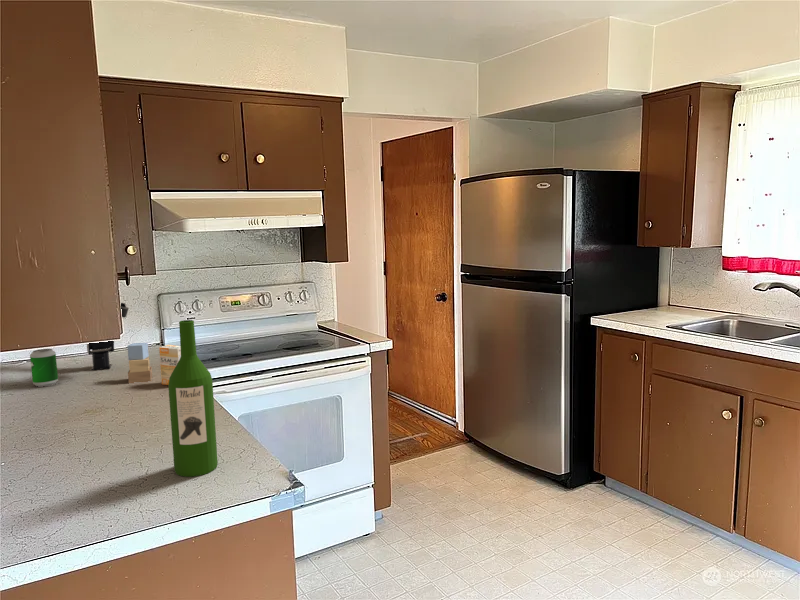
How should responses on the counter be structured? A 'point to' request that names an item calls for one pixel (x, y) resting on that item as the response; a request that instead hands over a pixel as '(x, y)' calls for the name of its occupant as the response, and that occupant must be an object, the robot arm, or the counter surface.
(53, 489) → the counter surface
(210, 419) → the wine bottle
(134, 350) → the blue cube
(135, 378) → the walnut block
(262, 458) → the counter surface
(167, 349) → the supplement box
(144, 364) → the oak block
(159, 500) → the counter surface
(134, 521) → the counter surface
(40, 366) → the soda can
